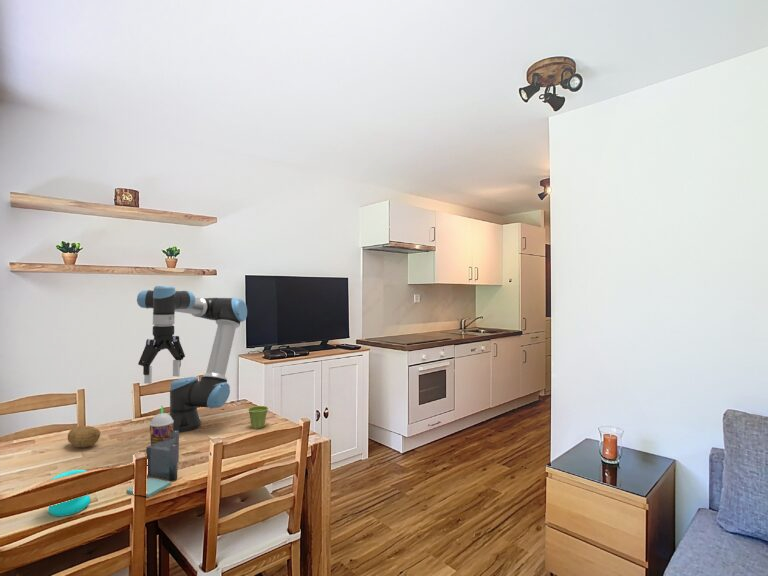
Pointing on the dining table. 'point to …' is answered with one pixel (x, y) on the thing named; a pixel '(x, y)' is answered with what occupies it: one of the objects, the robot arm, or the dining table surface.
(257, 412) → the plant pot
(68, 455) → the dining table surface
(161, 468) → the magazine holder
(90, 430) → the potato
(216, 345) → the robot arm
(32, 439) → the dining table surface
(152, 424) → the smoothie
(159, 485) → the pad
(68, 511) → the teal ball
